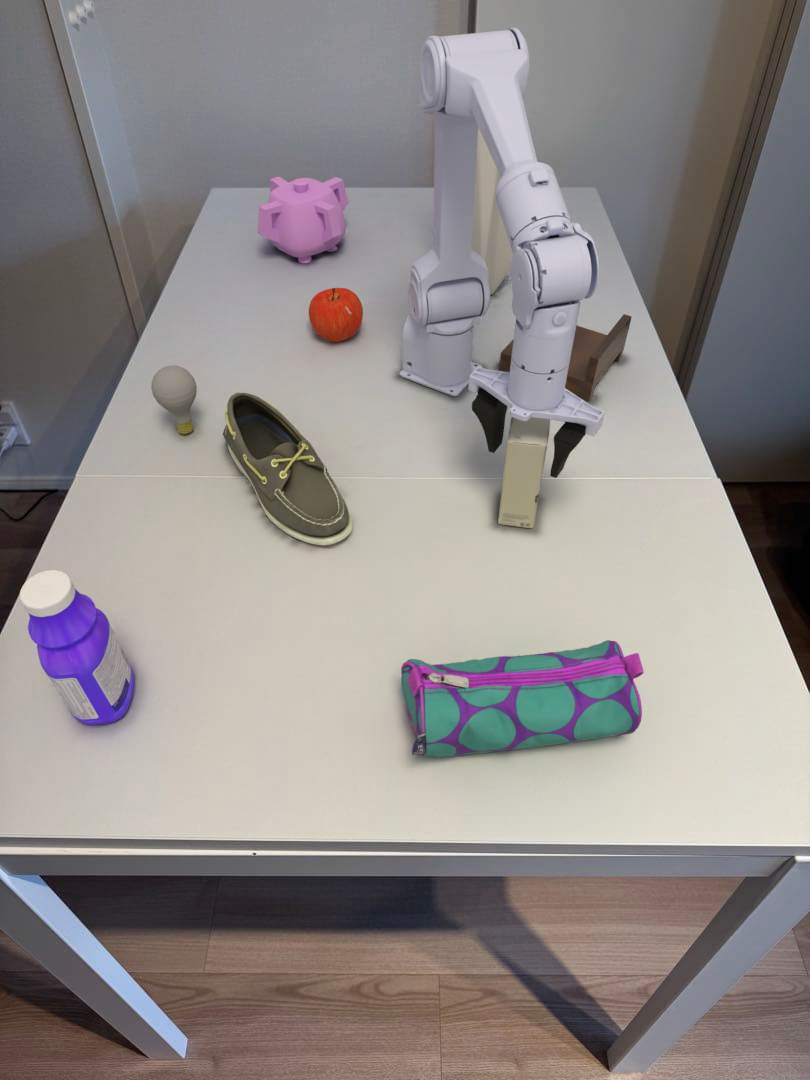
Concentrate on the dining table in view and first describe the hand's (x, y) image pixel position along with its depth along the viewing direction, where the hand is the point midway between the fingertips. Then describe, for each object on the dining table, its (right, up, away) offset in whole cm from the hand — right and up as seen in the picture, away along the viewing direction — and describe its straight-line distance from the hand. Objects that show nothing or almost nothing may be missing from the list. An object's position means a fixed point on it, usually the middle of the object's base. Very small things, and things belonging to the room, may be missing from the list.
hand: (525, 459), depth 86 cm
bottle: (-43, -25, -10) cm, 50 cm away
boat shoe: (-28, -3, +10) cm, 30 cm away
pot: (-31, +42, +49) cm, 72 cm away
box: (0, -6, +7) cm, 9 cm away
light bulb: (-43, +5, +17) cm, 46 cm away
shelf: (+9, +17, +26) cm, 32 cm away
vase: (-2, +33, +41) cm, 53 cm away
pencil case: (-3, -27, -12) cm, 29 cm away
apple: (-24, +22, +31) cm, 45 cm away
